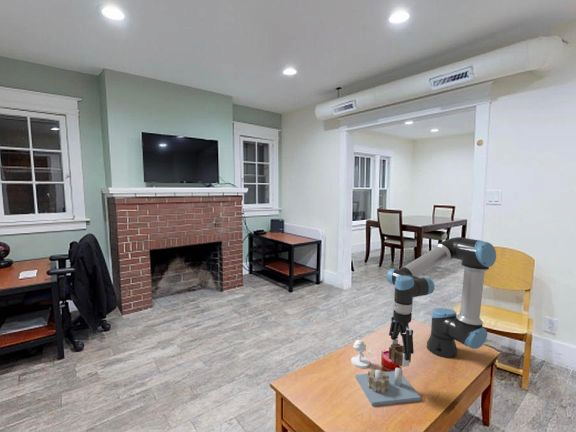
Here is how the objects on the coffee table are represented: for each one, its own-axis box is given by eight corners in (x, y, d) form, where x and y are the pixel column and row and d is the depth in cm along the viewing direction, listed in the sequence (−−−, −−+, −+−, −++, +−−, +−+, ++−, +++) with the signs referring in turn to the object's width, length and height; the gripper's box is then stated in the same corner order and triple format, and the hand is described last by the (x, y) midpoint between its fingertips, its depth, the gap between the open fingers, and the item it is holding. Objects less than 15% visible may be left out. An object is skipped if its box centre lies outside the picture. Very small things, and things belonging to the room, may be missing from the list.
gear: (377, 377, 138) (377, 367, 137) (392, 388, 130) (393, 378, 130) (363, 383, 133) (363, 373, 133) (378, 396, 126) (379, 385, 125)
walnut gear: (403, 353, 137) (403, 343, 137) (414, 365, 128) (415, 354, 128) (385, 354, 136) (385, 344, 135) (395, 366, 127) (396, 355, 126)
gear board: (398, 373, 143) (399, 357, 142) (420, 400, 126) (421, 381, 125) (355, 377, 140) (356, 360, 139) (372, 405, 122) (373, 386, 121)
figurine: (370, 369, 146) (371, 346, 145) (351, 366, 148) (352, 344, 147) (368, 358, 155) (369, 337, 154) (351, 356, 157) (352, 335, 156)
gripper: (382, 301, 140) (380, 346, 142) (408, 323, 118) (405, 375, 121) (397, 301, 141) (394, 345, 143) (425, 322, 120) (421, 374, 122)
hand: (399, 359), depth 132 cm, fingers closed on walnut gear, 9 cm apart
